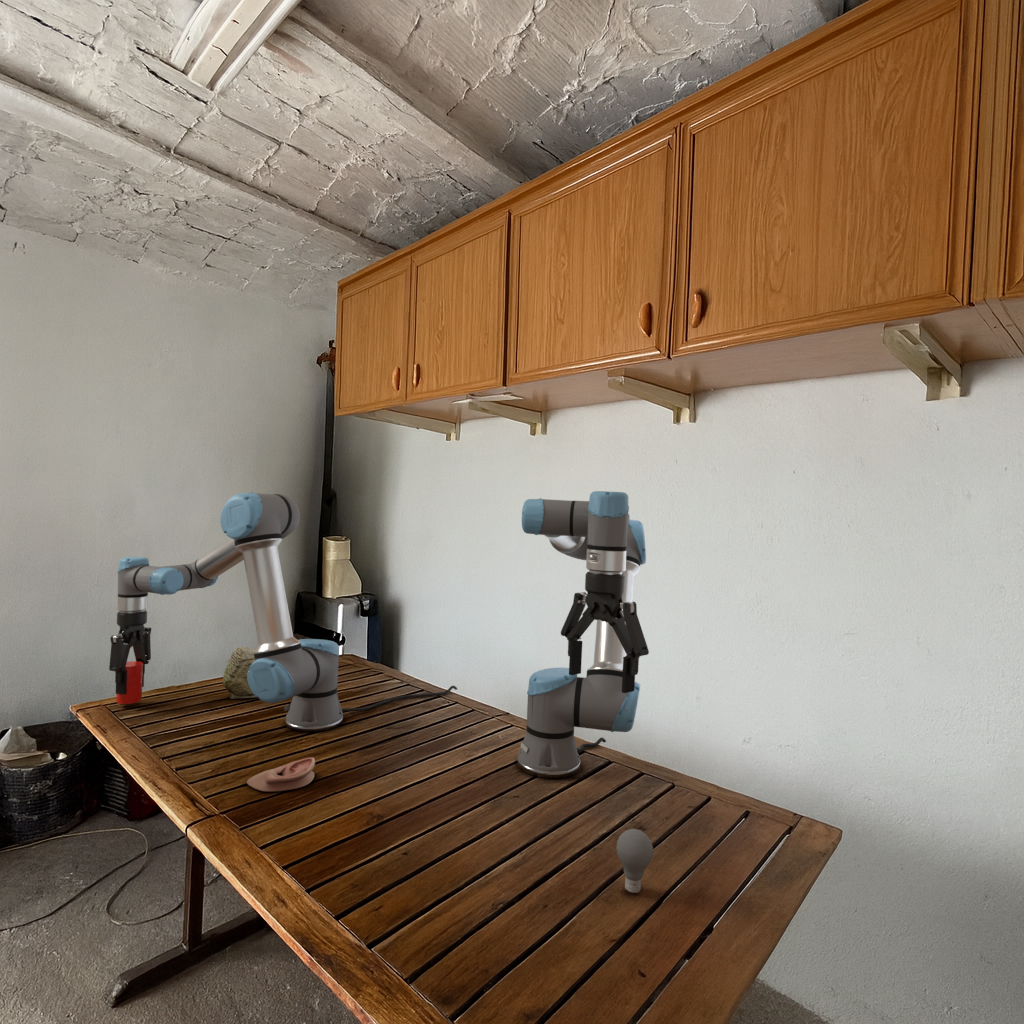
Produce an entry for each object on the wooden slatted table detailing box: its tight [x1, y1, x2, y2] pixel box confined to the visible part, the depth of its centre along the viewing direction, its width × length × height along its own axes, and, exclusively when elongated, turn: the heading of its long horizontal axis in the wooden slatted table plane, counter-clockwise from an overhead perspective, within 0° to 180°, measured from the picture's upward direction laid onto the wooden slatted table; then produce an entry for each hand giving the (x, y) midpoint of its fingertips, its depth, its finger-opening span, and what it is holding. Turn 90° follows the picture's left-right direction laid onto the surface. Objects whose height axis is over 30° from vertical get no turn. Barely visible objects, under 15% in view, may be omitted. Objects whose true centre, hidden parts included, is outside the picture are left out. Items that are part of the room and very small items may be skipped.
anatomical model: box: [246, 757, 316, 792], centre depth 140 cm, size 13×4×12 cm
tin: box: [115, 660, 143, 705], centre depth 183 cm, size 6×6×11 cm
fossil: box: [222, 646, 257, 699], centre depth 198 cm, size 9×18×15 cm, turn 132°
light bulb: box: [615, 828, 654, 894], centre depth 106 cm, size 6×6×10 cm
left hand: (129, 689), depth 183 cm, fingers closed on tin, 6 cm apart
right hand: (600, 682), depth 121 cm, fingers open, 13 cm apart
